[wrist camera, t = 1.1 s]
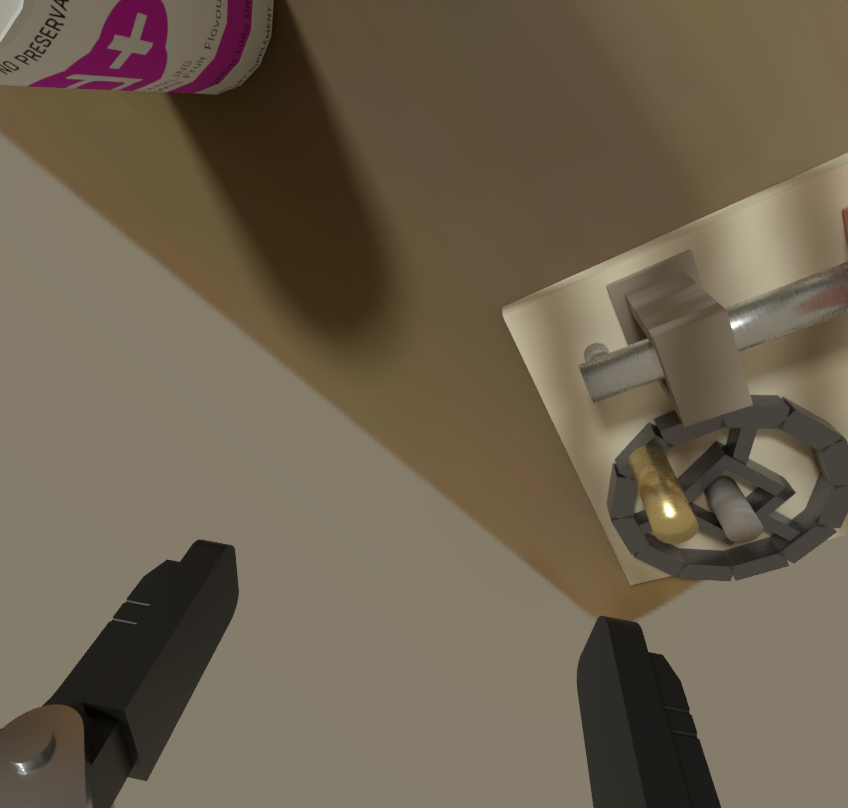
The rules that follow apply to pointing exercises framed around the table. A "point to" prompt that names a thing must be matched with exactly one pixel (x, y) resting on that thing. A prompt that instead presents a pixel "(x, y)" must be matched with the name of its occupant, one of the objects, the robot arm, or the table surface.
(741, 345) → the copper cube on rod
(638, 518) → the handwheel
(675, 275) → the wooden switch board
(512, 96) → the table surface
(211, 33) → the supplement can
